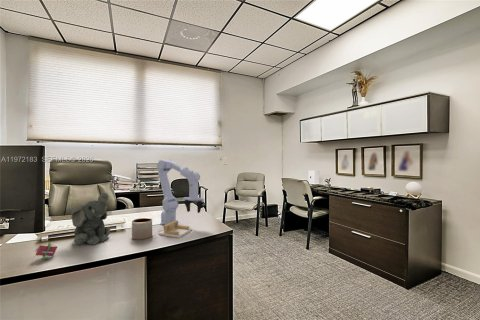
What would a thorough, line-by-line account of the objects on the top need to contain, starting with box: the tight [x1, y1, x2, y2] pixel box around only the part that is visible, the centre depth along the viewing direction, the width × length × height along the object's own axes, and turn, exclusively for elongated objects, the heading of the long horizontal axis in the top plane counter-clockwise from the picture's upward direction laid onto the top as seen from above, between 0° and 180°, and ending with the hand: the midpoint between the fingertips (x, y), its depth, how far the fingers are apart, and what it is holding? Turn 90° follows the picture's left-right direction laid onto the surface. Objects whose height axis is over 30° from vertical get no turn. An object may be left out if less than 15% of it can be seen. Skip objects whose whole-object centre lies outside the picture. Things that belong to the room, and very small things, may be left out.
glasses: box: [163, 219, 190, 235], centre depth 139 cm, size 10×12×4 cm
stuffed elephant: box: [70, 192, 111, 245], centre depth 127 cm, size 19×21×27 cm
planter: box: [131, 217, 153, 241], centre depth 133 cm, size 11×11×10 cm
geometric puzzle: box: [35, 242, 58, 260], centre depth 104 cm, size 7×7×8 cm
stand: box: [158, 227, 192, 238], centre depth 139 cm, size 14×12×3 cm
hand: (193, 212), depth 151 cm, fingers open, 7 cm apart
